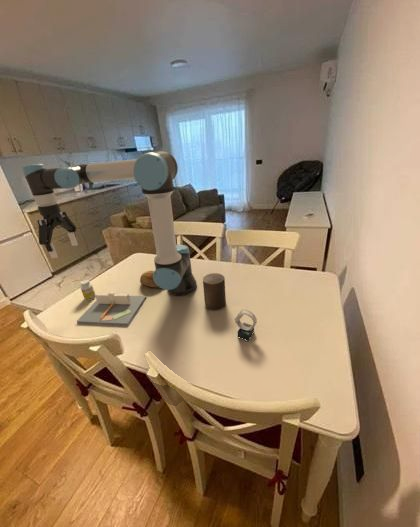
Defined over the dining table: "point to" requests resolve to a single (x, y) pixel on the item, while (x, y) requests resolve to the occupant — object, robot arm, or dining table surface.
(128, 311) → the grey tray
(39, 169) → the robot arm
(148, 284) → the bread roll
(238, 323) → the watch
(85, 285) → the supplement bottle
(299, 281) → the dining table surface
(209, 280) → the pillar candle
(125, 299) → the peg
